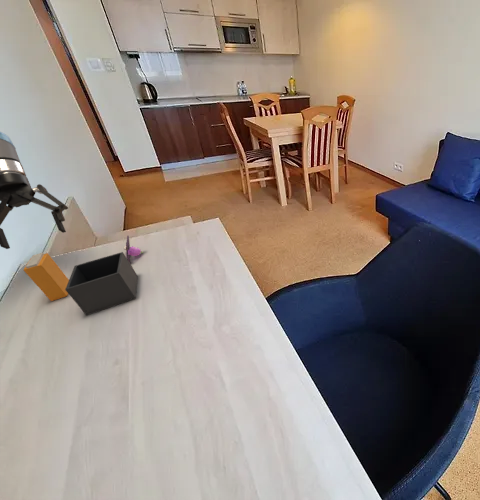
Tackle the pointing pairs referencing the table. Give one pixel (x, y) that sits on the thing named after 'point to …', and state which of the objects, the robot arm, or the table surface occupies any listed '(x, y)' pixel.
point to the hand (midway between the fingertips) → (34, 239)
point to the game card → (131, 250)
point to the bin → (102, 283)
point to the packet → (47, 276)
